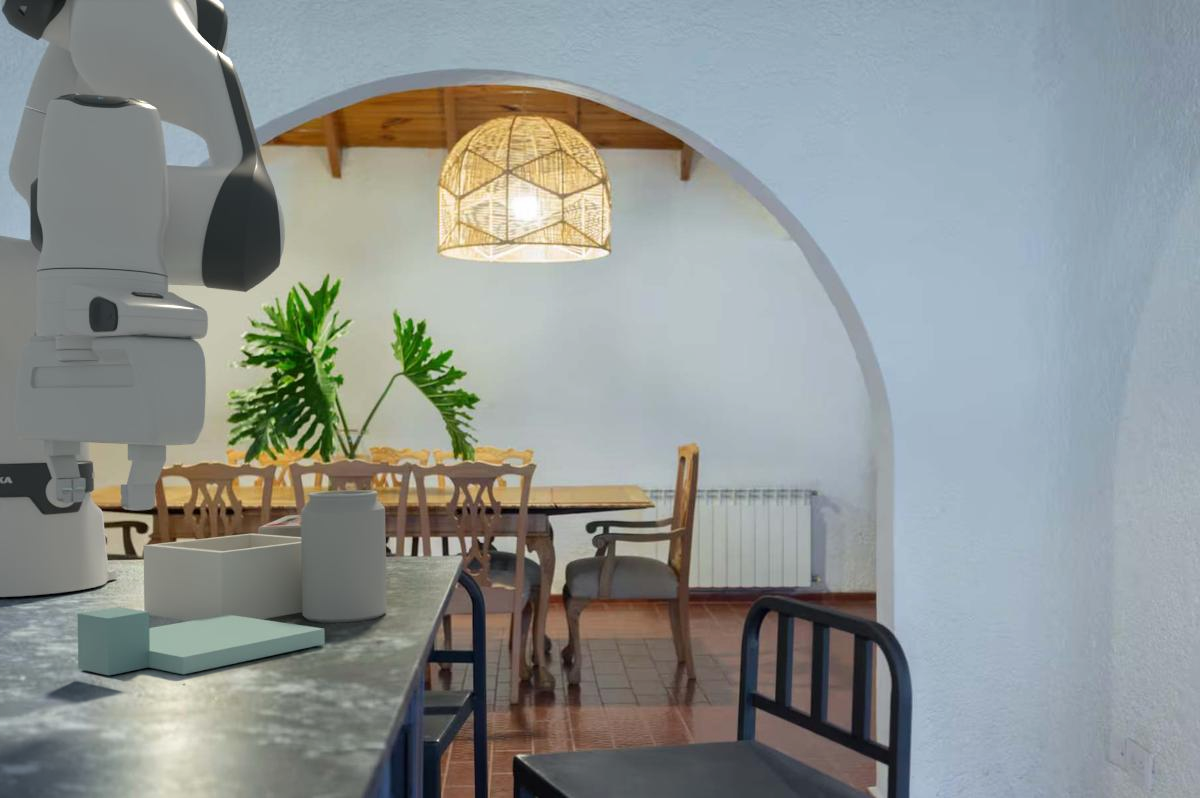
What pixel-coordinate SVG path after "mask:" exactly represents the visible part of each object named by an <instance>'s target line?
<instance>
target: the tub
mask: <svg viewBox="0 0 1200 798" xmlns="http://www.w3.org/2000/svg"><path fill="white" fill-rule="evenodd" d="M143 582H144V583H143V595H144V596H143V600H144V601H143V602H144V603H143V604H144V605H143V608H144V609H143V611H147V612H149V616H151V617H157V618H163V619H164V618H165V619H171V620H176V621H177V620H178V621H182V622H187V621H193V620H199V619H205V618H210V617H216V616H222V615H234V616H241V617H248V618H255V619H261V620H267V619H268V620H269V619H272V618H277V617H282V616H283V617H284V616H288V615H289V616H290V615H294V614H302V551H301V537H291V536H278V535H265V534H258V533H245V534H243V533H242V534H235V535H225V536H218V537H216V536H215V537H208V538H199V539H190V540H180V541H171V542H163V543H162V542H160V543H154V544H145V545H143Z"/></svg>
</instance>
